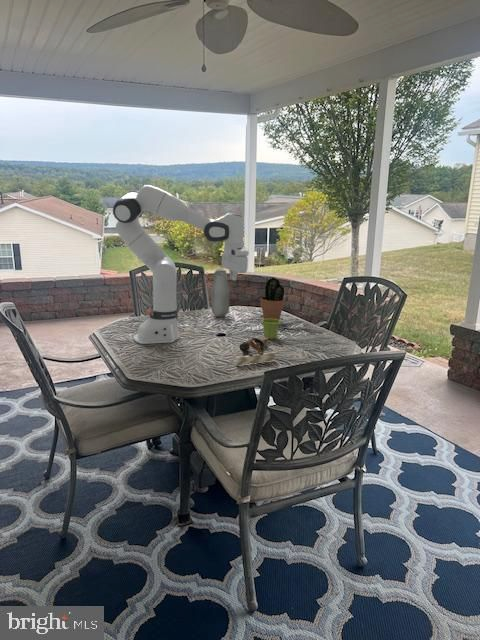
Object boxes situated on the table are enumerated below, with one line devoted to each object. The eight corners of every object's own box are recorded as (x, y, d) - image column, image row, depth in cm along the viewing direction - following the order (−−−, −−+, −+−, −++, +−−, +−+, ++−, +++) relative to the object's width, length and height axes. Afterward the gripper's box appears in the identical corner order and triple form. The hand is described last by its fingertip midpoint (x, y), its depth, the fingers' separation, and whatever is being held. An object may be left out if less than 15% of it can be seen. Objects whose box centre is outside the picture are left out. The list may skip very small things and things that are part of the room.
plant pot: (257, 338, 228) (258, 321, 226) (265, 333, 236) (266, 317, 234) (275, 341, 224) (275, 324, 222) (282, 336, 232) (283, 320, 230)
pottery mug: (251, 349, 212) (260, 336, 208) (261, 363, 206) (270, 350, 203) (231, 348, 204) (240, 334, 200) (241, 362, 198) (251, 348, 195)
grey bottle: (219, 313, 274) (219, 267, 267) (232, 316, 268) (233, 269, 261) (208, 316, 267) (208, 269, 260) (220, 319, 261) (221, 271, 253)
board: (237, 367, 188) (238, 356, 186) (235, 365, 189) (236, 355, 188) (275, 361, 195) (275, 351, 194) (273, 360, 197) (273, 350, 196)
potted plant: (257, 322, 257) (258, 278, 251) (262, 316, 270) (264, 275, 263) (280, 324, 253) (283, 280, 247) (285, 319, 266) (287, 276, 259)
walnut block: (262, 348, 213) (262, 340, 212) (255, 346, 216) (256, 338, 215) (267, 346, 216) (268, 338, 215) (261, 344, 218) (261, 336, 217)
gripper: (218, 247, 213) (218, 276, 217) (237, 252, 196) (236, 284, 199) (230, 247, 216) (230, 276, 220) (250, 252, 198) (249, 283, 202)
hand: (233, 280), depth 209 cm, fingers closed
